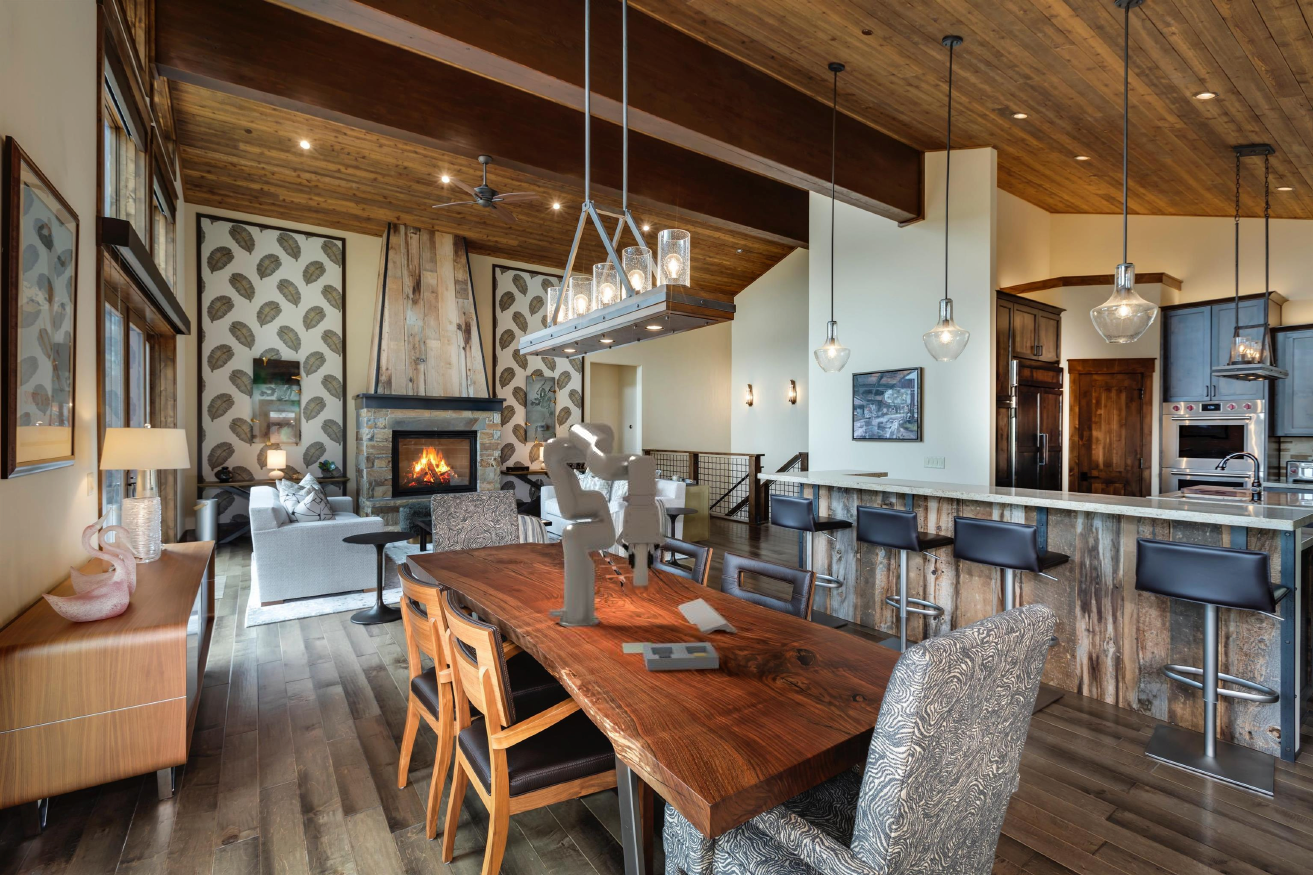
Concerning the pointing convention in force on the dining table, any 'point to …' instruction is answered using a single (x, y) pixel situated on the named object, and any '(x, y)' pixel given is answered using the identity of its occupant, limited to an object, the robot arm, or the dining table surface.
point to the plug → (640, 564)
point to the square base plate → (633, 647)
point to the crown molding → (704, 617)
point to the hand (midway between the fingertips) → (640, 567)
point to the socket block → (680, 656)
